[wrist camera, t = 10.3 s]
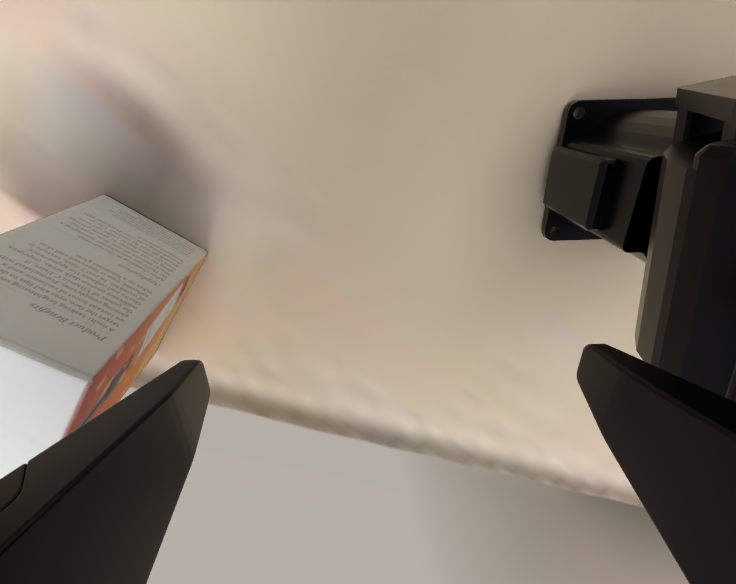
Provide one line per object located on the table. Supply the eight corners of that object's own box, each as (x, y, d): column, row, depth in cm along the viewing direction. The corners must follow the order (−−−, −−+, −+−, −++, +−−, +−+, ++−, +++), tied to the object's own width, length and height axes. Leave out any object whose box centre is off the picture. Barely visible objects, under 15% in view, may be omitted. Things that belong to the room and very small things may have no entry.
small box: (155, 354, 23) (22, 531, 14) (57, 309, 22) (-168, 475, 12) (213, 249, 20) (94, 384, 11) (104, 189, 19) (-143, 286, 9)
